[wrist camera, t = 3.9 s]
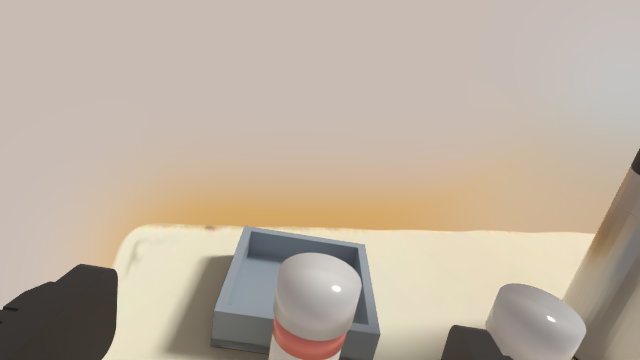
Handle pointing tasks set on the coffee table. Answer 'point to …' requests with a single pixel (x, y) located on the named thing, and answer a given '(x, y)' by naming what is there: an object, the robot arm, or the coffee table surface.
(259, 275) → the parts tray
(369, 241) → the coffee table surface
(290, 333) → the marked fuse
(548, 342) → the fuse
